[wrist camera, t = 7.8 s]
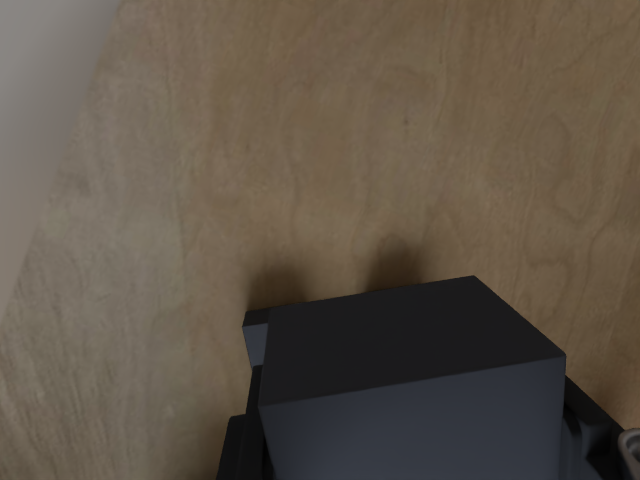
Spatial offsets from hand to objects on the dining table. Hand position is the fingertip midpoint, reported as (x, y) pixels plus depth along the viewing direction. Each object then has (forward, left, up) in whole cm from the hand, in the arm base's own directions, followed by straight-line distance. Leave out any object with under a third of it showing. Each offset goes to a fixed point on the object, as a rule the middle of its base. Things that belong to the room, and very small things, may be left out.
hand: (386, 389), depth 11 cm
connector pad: (+2, 0, -1) cm, 2 cm away
